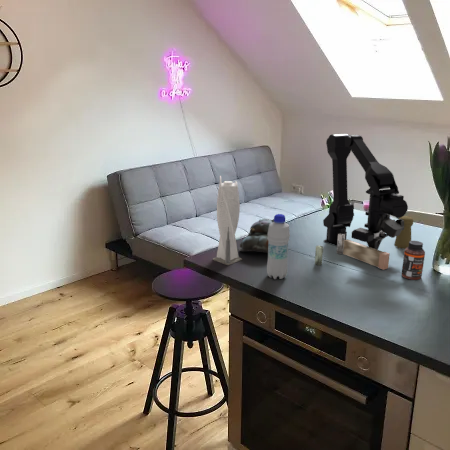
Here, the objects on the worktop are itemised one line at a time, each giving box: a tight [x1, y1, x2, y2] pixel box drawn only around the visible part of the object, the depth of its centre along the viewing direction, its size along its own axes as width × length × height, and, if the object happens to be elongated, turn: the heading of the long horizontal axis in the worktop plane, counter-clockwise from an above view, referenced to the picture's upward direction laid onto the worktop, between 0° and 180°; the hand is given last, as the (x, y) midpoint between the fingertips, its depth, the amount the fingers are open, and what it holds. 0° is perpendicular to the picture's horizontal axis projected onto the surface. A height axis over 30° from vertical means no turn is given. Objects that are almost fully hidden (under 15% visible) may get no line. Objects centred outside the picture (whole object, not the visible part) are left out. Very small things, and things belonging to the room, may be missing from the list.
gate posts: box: [314, 233, 345, 266], centre depth 170 cm, size 2×16×7 cm, turn 138°
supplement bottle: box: [401, 240, 426, 281], centre depth 155 cm, size 6×6×11 cm
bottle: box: [266, 213, 291, 280], centre depth 153 cm, size 7×7×20 cm
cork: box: [393, 215, 414, 250], centre depth 183 cm, size 6×6×11 cm
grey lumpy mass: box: [237, 218, 274, 254], centre depth 176 cm, size 15×12×14 cm
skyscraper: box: [212, 175, 243, 266], centre depth 166 cm, size 8×8×28 cm
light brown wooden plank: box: [342, 238, 391, 271], centre depth 168 cm, size 17×2×5 cm, turn 36°
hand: (373, 254), depth 168 cm, fingers closed
